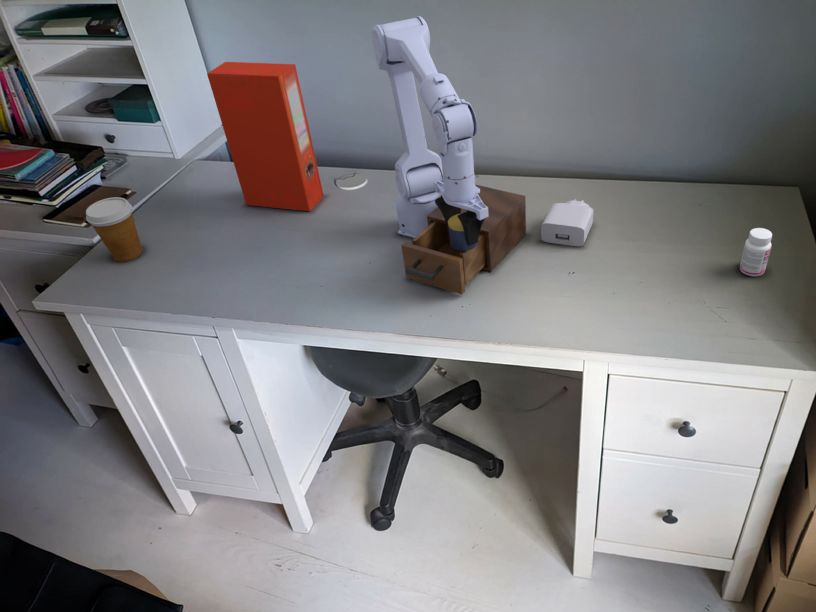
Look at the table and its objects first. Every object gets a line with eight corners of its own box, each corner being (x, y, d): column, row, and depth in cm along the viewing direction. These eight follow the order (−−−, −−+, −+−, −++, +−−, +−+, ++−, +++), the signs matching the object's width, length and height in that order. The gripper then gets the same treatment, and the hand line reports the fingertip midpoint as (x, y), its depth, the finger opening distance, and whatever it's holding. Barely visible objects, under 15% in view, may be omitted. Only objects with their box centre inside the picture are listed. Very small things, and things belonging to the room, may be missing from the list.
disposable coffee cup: (158, 246, 161) (139, 200, 153) (127, 269, 154) (105, 221, 146) (128, 239, 164) (107, 193, 156) (96, 261, 158) (73, 214, 150)
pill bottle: (765, 278, 136) (774, 241, 131) (739, 275, 137) (747, 238, 132) (764, 264, 140) (774, 227, 134) (739, 262, 141) (747, 225, 135)
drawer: (450, 307, 135) (446, 273, 129) (393, 289, 140) (387, 256, 135) (498, 257, 146) (496, 224, 141) (444, 242, 152) (440, 210, 147)
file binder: (262, 190, 178) (225, 60, 157) (324, 195, 174) (294, 63, 153) (246, 206, 172) (206, 74, 151) (309, 212, 168) (277, 77, 147)
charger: (598, 212, 159) (583, 247, 149) (558, 207, 162) (541, 241, 151) (599, 193, 156) (584, 228, 145) (559, 188, 159) (541, 222, 148)
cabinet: (490, 272, 144) (488, 231, 138) (431, 255, 150) (426, 215, 144) (526, 235, 154) (525, 195, 147) (468, 220, 160) (466, 182, 154)
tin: (460, 254, 134) (458, 231, 130) (444, 242, 137) (442, 220, 134) (483, 244, 136) (482, 221, 132) (467, 232, 139) (465, 210, 136)
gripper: (500, 179, 123) (503, 245, 132) (453, 152, 133) (458, 215, 142) (468, 192, 121) (473, 259, 130) (422, 164, 130) (429, 227, 139)
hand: (463, 237), depth 135 cm, fingers closed on tin, 5 cm apart
